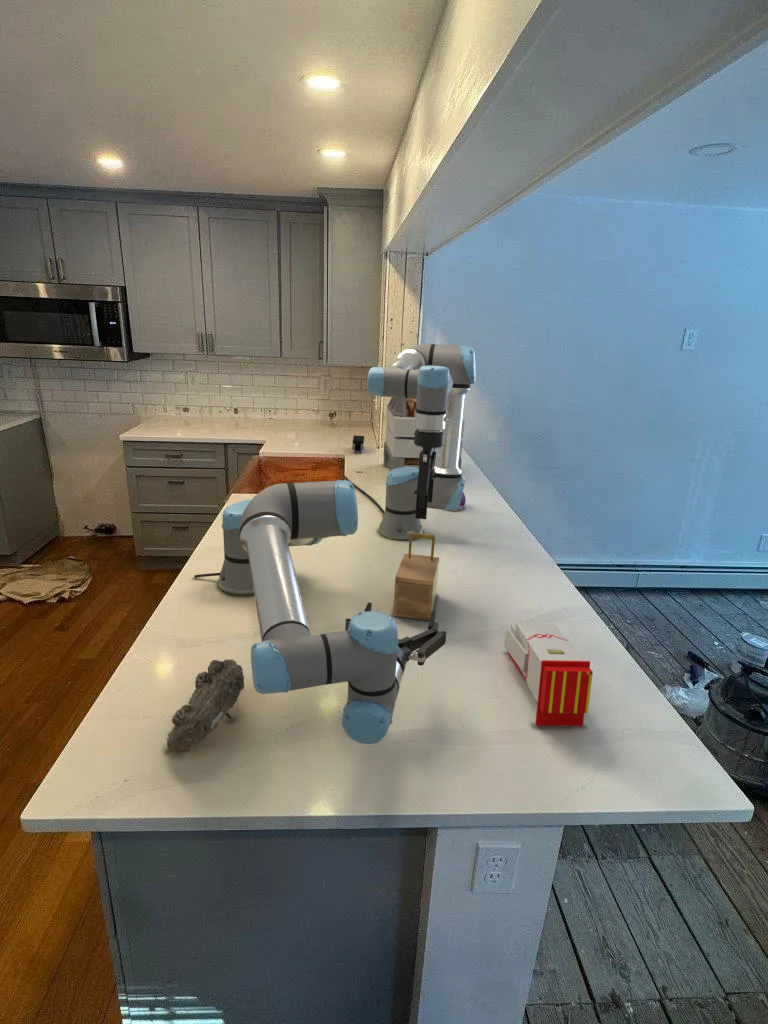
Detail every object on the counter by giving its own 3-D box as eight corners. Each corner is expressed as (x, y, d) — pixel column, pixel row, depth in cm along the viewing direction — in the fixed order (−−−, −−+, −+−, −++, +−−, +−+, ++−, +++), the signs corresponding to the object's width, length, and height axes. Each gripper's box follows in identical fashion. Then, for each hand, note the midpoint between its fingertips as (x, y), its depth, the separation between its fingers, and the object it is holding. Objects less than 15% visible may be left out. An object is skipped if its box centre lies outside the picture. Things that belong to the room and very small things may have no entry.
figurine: (452, 513, 222) (455, 476, 217) (438, 505, 231) (441, 469, 226) (471, 510, 227) (475, 474, 221) (457, 502, 235) (460, 467, 230)
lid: (404, 557, 157) (405, 528, 154) (438, 561, 156) (441, 532, 153) (395, 581, 143) (396, 549, 140) (433, 585, 142) (435, 554, 139)
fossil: (192, 660, 117) (244, 628, 112) (224, 691, 120) (276, 661, 115) (142, 746, 98) (202, 712, 93) (182, 779, 101) (242, 748, 96)
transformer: (382, 463, 289) (386, 382, 275) (445, 464, 293) (451, 384, 279) (390, 482, 257) (394, 392, 243) (460, 483, 261) (468, 394, 247)
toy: (550, 607, 134) (601, 667, 105) (545, 659, 137) (594, 732, 108) (499, 606, 134) (537, 666, 104) (495, 659, 137) (530, 731, 107)
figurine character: (364, 456, 305) (364, 447, 319) (364, 443, 302) (364, 434, 315) (351, 456, 305) (352, 446, 318) (351, 443, 302) (352, 434, 315)
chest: (401, 590, 160) (403, 558, 157) (436, 594, 158) (438, 562, 155) (393, 615, 147) (395, 581, 143) (430, 620, 145) (433, 586, 142)
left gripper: (314, 677, 104) (343, 620, 123) (451, 698, 100) (458, 635, 119) (314, 642, 101) (344, 589, 121) (454, 662, 97) (461, 603, 117)
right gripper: (440, 441, 129) (433, 527, 137) (448, 422, 153) (442, 496, 160) (407, 438, 131) (402, 524, 138) (421, 419, 154) (416, 494, 161)
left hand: (401, 612), depth 120 cm, fingers open, 13 cm apart
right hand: (424, 509), depth 149 cm, fingers open, 13 cm apart
